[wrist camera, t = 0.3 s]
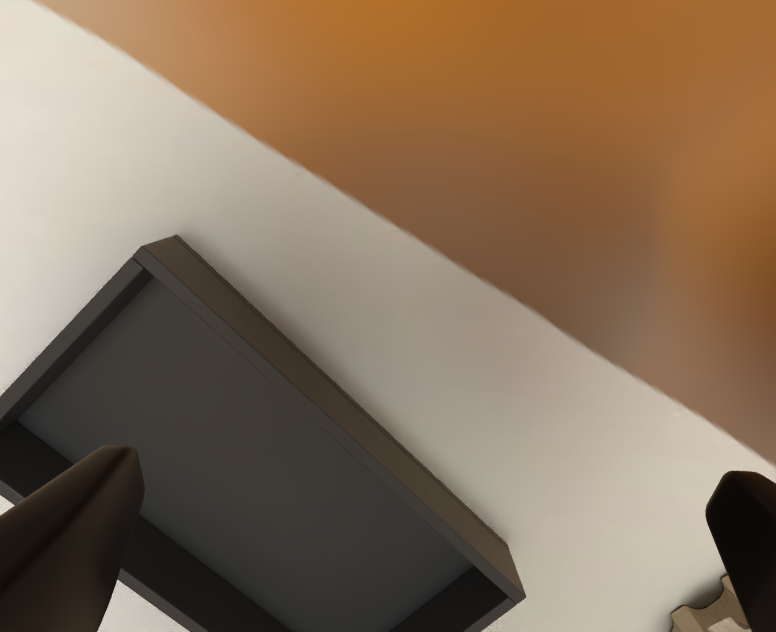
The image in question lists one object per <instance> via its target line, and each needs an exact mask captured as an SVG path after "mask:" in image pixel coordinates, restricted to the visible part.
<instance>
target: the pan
mask: <svg viewBox="0 0 776 632" xmlns="http://www.w3.org/2000/svg"><path fill="white" fill-rule="evenodd" d="M109 444H111V445H130V446H133V447H134V448H135V449H136V450H137V453H138V457H139V461H140V466H141V470H142V475H143V479H144V484H145V493H144V499H143V503H142V506H141V509H140V512H139V515H138V518H137V521H136V524H135V527H134V530H133V533H132V536H131V539H130V542H129V545H128V548H127V551H126V554H125V557H124V560H123V563H122V567H121V570H120V573H119V576H118V580H119V581H120V582H122V583H123V584H125V585H126V586H127V587H129V588H130V589H132V590H133V591H134V592H136V593H137V594H138V595H140V596H141V597H143V598H144V599H145V600H147V601H148V602H150V603H151V604H152V605H154V606H155V607H157V608H158V609H159V610H161V611H162V612H163V613H165V614H166V615H168V616H169V617H170V618H172V619H173V620H175V621H176V622H177V623H179V624H180V625H182V626H183V627H184V628H186V629H187V630H188V631H190V632H481V631H482V630H483V629H485V628H486V627H487V626H489V625H490V624H491V623H493V622H494V621H495V620H497V619H498V618H499V617H501V616H502V615H504V614H505V613H506V612H508V611H509V610H510V609H512V608H513V607H514V606H516V604H518V603H519V602H521V601H522V600H523V599H525V598H526V595H525V592H524V589H523V586H522V584H521V581H520V578H519V575H518V573H517V570H516V567H515V564H514V562H513V559H512V556H511V554H510V551H509V548H508V545H507V544H506V543H505V542H504V541H503V540H502V539H501V538H500V537H499V536H497V535H496V534H495V533H494V532H493V531H492V530H491V529H490V528H489V527H488V526H487V525H486V524H485V523H484V522H483V521H481V520H480V519H479V518H478V517H477V516H476V515H475V514H474V513H473V512H472V511H471V510H470V509H469V508H468V507H467V506H465V505H464V504H463V503H462V502H461V501H460V500H459V499H458V498H457V497H456V496H455V495H454V494H453V493H452V492H451V491H449V490H448V489H447V488H446V487H445V486H444V485H443V484H442V483H441V482H440V481H439V480H438V479H437V478H436V477H435V476H433V475H432V474H431V473H430V472H429V471H428V470H427V469H426V468H425V467H424V466H423V465H422V464H421V463H420V462H419V461H417V460H416V459H415V458H414V457H413V456H412V455H411V454H410V453H409V452H408V451H407V450H406V449H405V448H404V447H403V446H401V445H400V444H399V443H398V442H397V441H396V440H395V439H394V438H393V437H392V436H391V435H390V434H389V433H388V432H387V431H385V430H384V429H383V428H382V427H381V426H380V425H379V424H378V423H377V422H376V421H375V420H374V419H373V418H372V417H371V416H369V415H368V414H367V413H366V412H365V411H364V410H363V409H362V408H361V407H360V406H359V405H358V404H357V403H356V402H355V401H353V400H352V399H351V398H350V397H349V396H348V395H347V394H346V393H345V392H344V391H343V390H342V389H341V388H340V387H339V386H337V385H336V384H335V383H334V382H333V381H332V380H331V379H330V378H329V377H328V376H327V375H326V374H325V373H324V372H323V371H321V370H320V369H319V368H318V367H317V366H316V365H315V364H314V363H313V362H312V361H311V360H310V359H309V358H308V357H307V356H305V355H304V354H303V353H302V352H301V351H300V350H299V349H298V348H297V347H296V346H295V345H294V344H293V343H292V342H291V341H290V340H288V339H287V338H286V337H285V336H284V335H283V334H282V333H281V332H280V331H279V330H278V329H277V328H276V327H275V326H274V325H272V324H271V323H270V322H269V321H268V320H267V319H266V318H265V317H264V316H263V315H262V314H261V313H260V312H259V311H258V310H256V309H255V308H254V307H253V306H252V305H251V304H250V303H249V302H248V301H247V300H246V299H245V298H244V297H243V296H242V295H240V294H239V293H238V292H237V291H236V290H235V289H234V288H233V287H232V286H231V285H230V284H229V283H228V282H227V281H226V280H224V279H223V278H222V277H221V276H220V275H219V274H218V273H217V272H216V271H215V270H214V269H213V268H212V267H211V266H210V265H208V264H207V263H206V262H205V261H204V260H203V259H202V258H201V257H200V256H199V255H198V254H197V253H196V252H195V251H194V250H192V249H191V248H190V247H189V246H188V245H187V244H186V243H185V242H184V241H183V240H182V239H181V238H180V237H179V236H178V235H174V236H172V237H169V238H166V239H162V240H159V241H156V242H153V243H150V244H147V245H144V246H141V247H140V248H139V249H138V250H137V251H136V253H135V254H134V255H133V257H131V258H130V259H129V260H128V261H127V262H126V263H125V264H124V265H123V266H122V267H121V269H120V270H119V271H118V272H117V273H116V274H115V275H114V276H113V277H112V278H111V279H110V280H109V281H108V282H107V283H106V285H105V286H104V287H103V288H102V289H101V290H100V291H99V292H98V293H97V294H96V295H95V296H94V297H93V298H92V299H91V301H90V302H89V303H88V304H87V305H86V306H85V307H84V308H83V309H82V310H81V311H80V312H79V313H78V314H77V315H76V317H75V318H74V319H73V320H72V321H71V322H70V323H69V324H68V325H67V326H66V327H65V328H64V329H63V330H62V331H61V332H60V334H59V335H58V336H57V337H56V338H55V339H54V340H53V341H52V342H51V343H50V344H49V345H48V346H47V347H46V348H45V350H44V351H43V352H42V353H41V354H40V355H39V356H38V357H37V358H36V359H35V360H34V361H33V362H32V363H31V364H30V366H29V367H28V368H27V369H26V370H25V371H24V372H23V373H22V374H21V375H20V376H19V377H18V378H17V379H16V380H15V382H14V383H13V384H12V385H11V386H10V387H9V388H8V389H7V390H6V391H5V392H4V393H3V394H2V395H1V396H0V495H1V496H3V497H4V498H5V499H7V500H8V501H9V502H11V503H12V504H14V505H17V504H18V503H19V502H21V501H22V500H24V499H25V498H27V497H28V496H30V495H31V494H33V493H34V492H35V491H37V490H38V489H40V488H41V487H43V486H44V485H46V484H47V483H49V482H50V481H52V480H53V479H54V478H56V477H57V476H59V475H60V474H62V473H63V472H65V471H66V470H68V469H69V468H70V467H72V466H73V465H75V464H76V463H78V462H79V461H81V460H82V459H84V458H85V457H87V456H88V455H89V454H91V453H92V452H94V451H95V450H97V449H98V448H100V447H102V446H104V445H109Z"/></svg>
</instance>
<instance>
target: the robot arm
mask: <svg viewBox="0 0 776 632" xmlns="http://www.w3.org/2000/svg"><path fill="white" fill-rule="evenodd" d="M144 493H145V484H144V479H143V475H142V470H141V466H140V461H139V457H138V453H137V450H136V449H135V448H134V447H133V446H130V445H111V444H109V445H104V446H102V447H100V448H98V449H97V450H95V451H94V452H92V453H91V454H89V455H88V456H87V457H85V458H84V459H82V460H81V461H79V462H78V463H76V464H75V465H73V466H72V467H70V468H69V469H68V470H66V471H65V472H63V473H62V474H60V475H59V476H57V477H56V478H54V479H53V480H52V481H50V482H49V483H47V484H46V485H44V486H43V487H41V488H40V489H38V490H37V491H35V492H34V493H33V494H31V495H30V496H28V497H27V498H25V499H24V500H22V501H21V502H19V503H18V504H17V505H15V506H14V507H12V508H11V509H9V510H8V511H6V512H5V513H3V514H2V515H0V632H97V631H98V628H99V626H100V624H101V622H102V619H103V617H104V614H105V612H106V610H107V607H108V605H109V602H110V599H111V596H112V593H113V591H114V588H115V585H116V582H117V579H118V576H119V573H120V570H121V567H122V563H123V560H124V557H125V554H126V551H127V548H128V545H129V542H130V539H131V536H132V533H133V530H134V527H135V524H136V521H137V518H138V515H139V512H140V509H141V506H142V503H143V499H144ZM706 520H707V524H708V526H709V529H710V531H711V534H712V536H713V539H714V541H715V544H716V546H717V549H718V551H719V554H720V556H721V559H722V561H723V564H724V566H725V569H726V572H727V574H728V577H729V579H730V582H731V584H732V587H733V589H734V592H735V594H736V597H737V599H738V602H739V604H740V607H741V609H742V611H743V614H744V616H745V618H746V621H747V623H748V625H749V627H750V629H751V631H752V632H776V483H774V482H772V481H771V480H769V479H767V478H766V477H764V476H763V475H761V474H759V473H756V472H750V471H729V472H727V473H725V474H724V475H723V477H722V478H721V480H720V482H719V484H718V485H717V487H716V489H715V491H714V493H713V495H712V496H711V498H710V500H709V502H708V504H707V506H706Z"/></svg>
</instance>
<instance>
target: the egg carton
mask: <svg viewBox="0 0 776 632" xmlns="http://www.w3.org/2000/svg"><path fill="white" fill-rule="evenodd" d="M721 581H722V584H723V587H724V591H723V593H722V595H721V597H720V598H719V599H717V600H716V601H715V602H714V603H713V604H711V605H710V606H708V607H707V608H704V609H692V608H690V607H688V606H682V607H681V608H680V609H678V610H677V611H675V612H673V613H672V615H671V617H672V619H673V622H674V626H673V630H672V632H752V631H751V629H750V627H749V625H748V623H747V621H746V618H745V616H744V614H743V611H742V609H741V607H740V604H739V602H738V599H737V597H736V594H735V592H734V589H733V587H732V584H731V582H730V579H729V577H728V576H725V577H723V578H722V579H721Z"/></svg>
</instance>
